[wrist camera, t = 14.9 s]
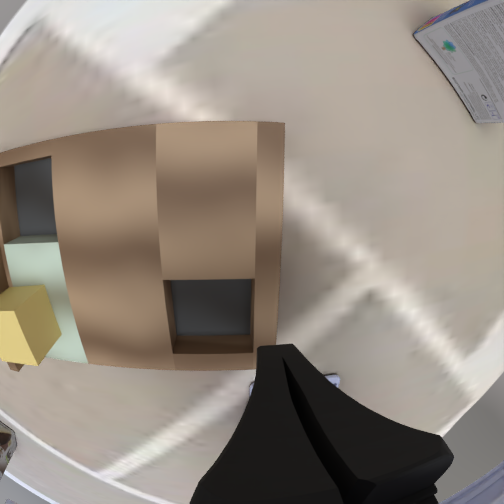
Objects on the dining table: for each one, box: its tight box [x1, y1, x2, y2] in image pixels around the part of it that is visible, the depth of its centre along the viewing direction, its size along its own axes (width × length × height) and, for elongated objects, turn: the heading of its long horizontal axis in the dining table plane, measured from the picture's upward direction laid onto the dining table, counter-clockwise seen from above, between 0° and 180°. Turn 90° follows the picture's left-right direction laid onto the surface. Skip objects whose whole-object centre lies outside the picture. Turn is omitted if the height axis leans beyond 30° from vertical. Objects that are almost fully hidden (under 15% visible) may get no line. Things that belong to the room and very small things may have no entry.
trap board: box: [0, 121, 285, 372], centre depth 16 cm, size 16×21×5 cm
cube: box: [0, 285, 62, 366], centre depth 15 cm, size 4×4×4 cm
